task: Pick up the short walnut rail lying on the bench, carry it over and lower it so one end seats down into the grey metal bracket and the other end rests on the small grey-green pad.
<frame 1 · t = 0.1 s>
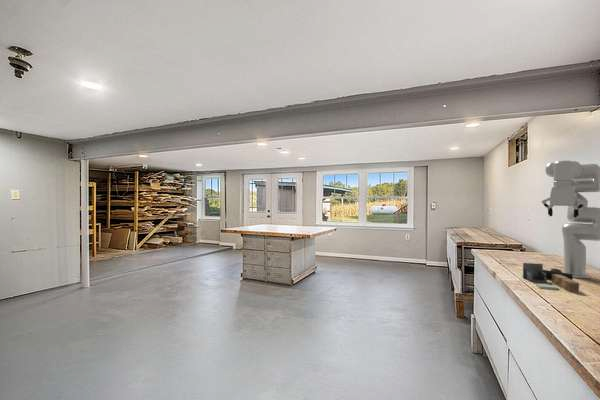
hand: (562, 216, 149), 37 cm above the table, tool pointing down, fingers open, 9 cm apart
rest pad: (547, 287, 148), on the table
pipe connector: (554, 279, 164), on the table
walnut rail: (564, 287, 149), on the table
grey metal bracket: (534, 280, 161), on the table
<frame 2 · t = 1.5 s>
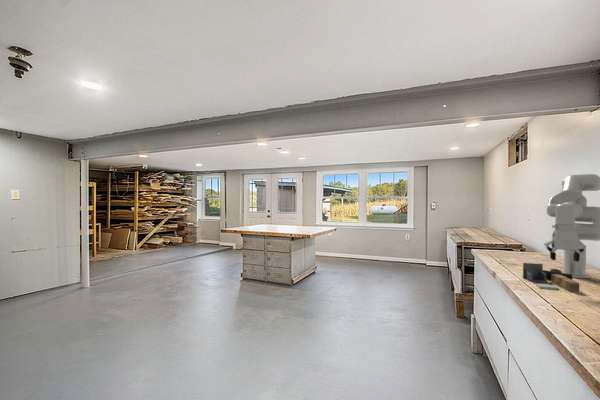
hand: (564, 260, 148), 14 cm above the table, tool pointing down, fingers open, 9 cm apart
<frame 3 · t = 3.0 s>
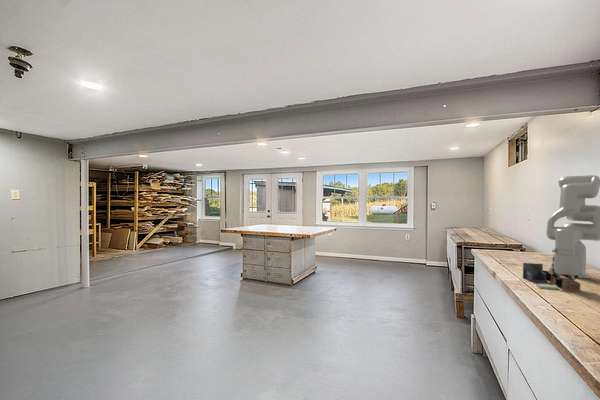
hand: (564, 286, 149), 0 cm above the table, tool pointing down, fingers closed on walnut rail, 4 cm apart
walnut rail: (564, 287, 149), on the table, touching gripper
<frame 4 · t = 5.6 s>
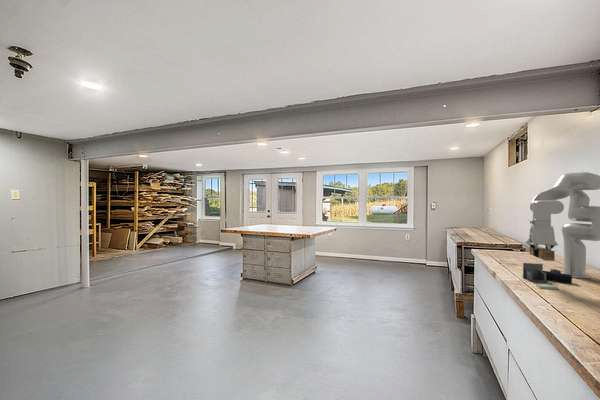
hand: (541, 256, 154), 15 cm above the table, tool pointing down, fingers closed on walnut rail, 4 cm apart
walnut rail: (541, 257, 154), point 15 cm above the table, touching gripper
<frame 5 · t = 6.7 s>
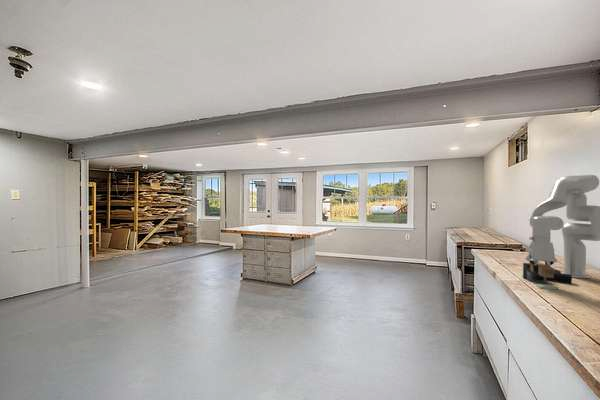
hand: (541, 272, 154), 6 cm above the table, tool pointing down, fingers closed on walnut rail, 4 cm apart
walnut rail: (541, 273, 154), point 6 cm above the table, touching gripper
when the fingers open (3 cm above the table, at t = 7.7 s): walnut rail drops 1 cm, resting on grey metal bracket, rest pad.
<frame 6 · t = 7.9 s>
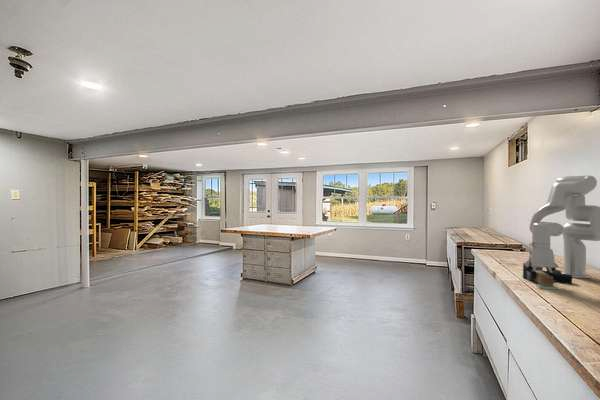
hand: (540, 278, 154), 3 cm above the table, tool pointing down, fingers open, 5 cm apart
walnut rail: (540, 282, 154), point 1 cm above the table, touching grey metal bracket, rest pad
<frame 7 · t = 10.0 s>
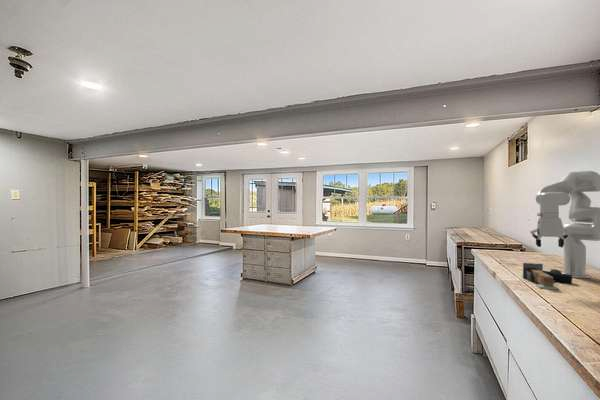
hand: (549, 246, 154), 20 cm above the table, tool pointing down, fingers open, 9 cm apart
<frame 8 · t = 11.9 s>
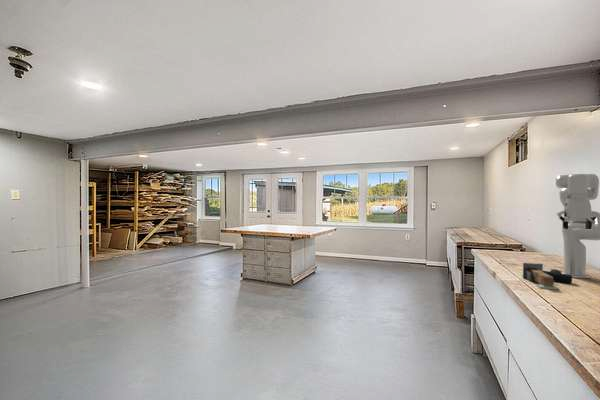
hand: (576, 229, 151), 30 cm above the table, tool pointing down, fingers open, 9 cm apart
at the end: walnut rail 0.1 cm from the target spot, point 1.0 cm above the table; walnut rail tilted 0°; the gripper is holding nothing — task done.
